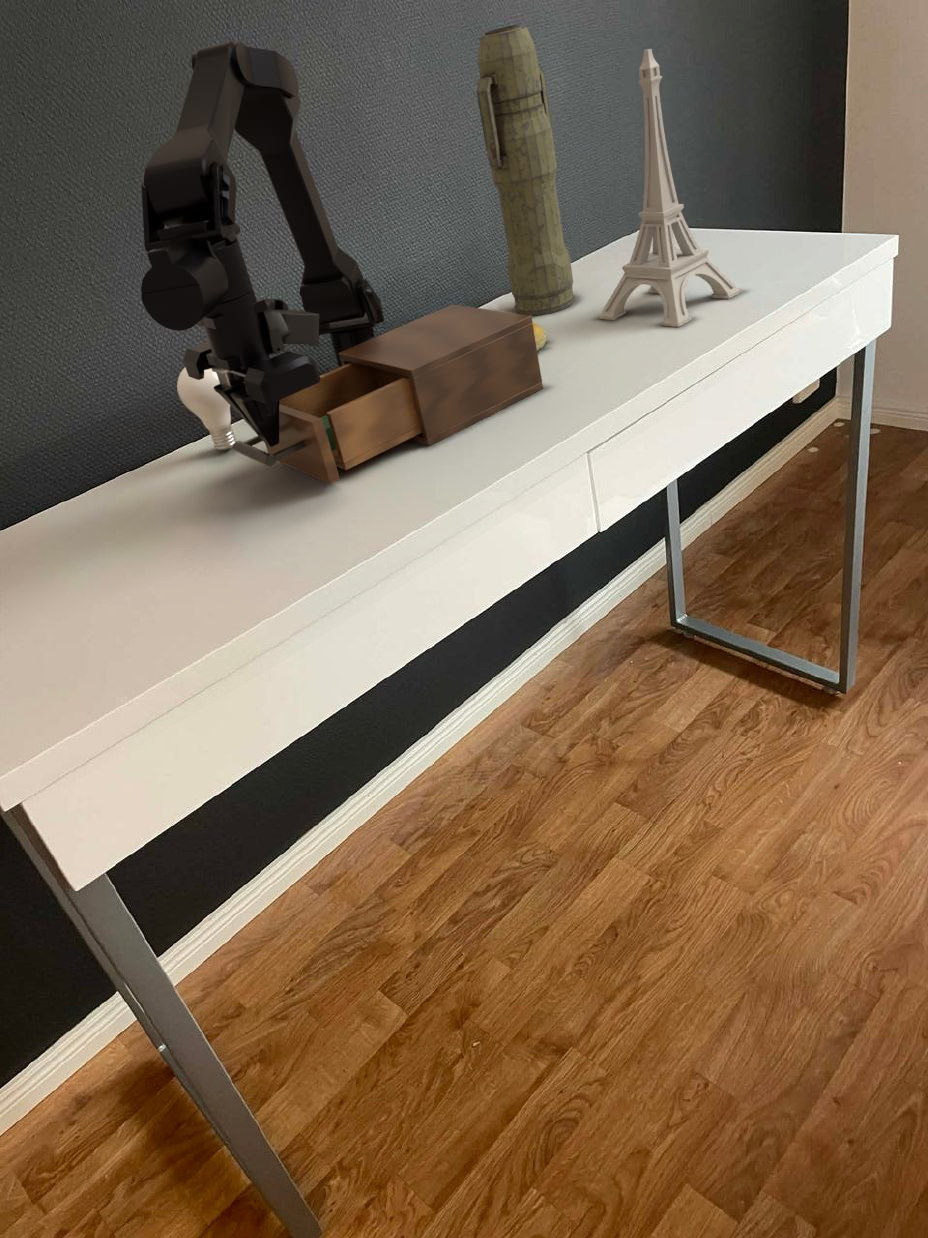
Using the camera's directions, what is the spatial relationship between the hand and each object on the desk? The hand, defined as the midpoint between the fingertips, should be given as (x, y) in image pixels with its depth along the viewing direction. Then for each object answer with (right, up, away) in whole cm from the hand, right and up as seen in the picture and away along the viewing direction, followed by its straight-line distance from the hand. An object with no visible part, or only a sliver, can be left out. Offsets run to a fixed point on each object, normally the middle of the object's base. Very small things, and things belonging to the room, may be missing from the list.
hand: (273, 444), depth 101 cm
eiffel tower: (+47, +23, +27) cm, 59 cm away
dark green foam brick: (+7, +2, +5) cm, 9 cm away
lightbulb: (-8, +2, +15) cm, 18 cm away
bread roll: (+27, +17, +25) cm, 40 cm away
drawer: (+6, 0, +5) cm, 8 cm away
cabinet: (+18, +7, +13) cm, 23 cm away
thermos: (+32, +27, +39) cm, 57 cm away
